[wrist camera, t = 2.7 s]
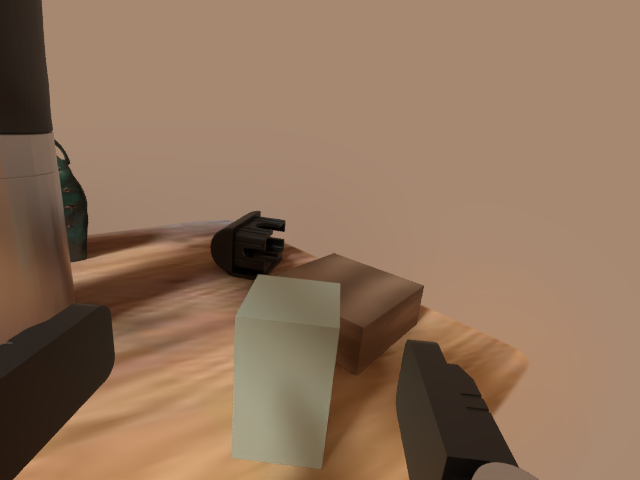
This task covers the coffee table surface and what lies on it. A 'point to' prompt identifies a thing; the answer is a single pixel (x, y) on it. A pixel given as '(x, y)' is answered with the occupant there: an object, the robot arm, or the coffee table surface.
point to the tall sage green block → (284, 370)
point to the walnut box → (365, 307)
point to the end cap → (248, 246)
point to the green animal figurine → (73, 209)
